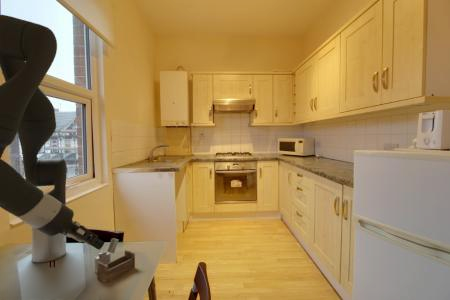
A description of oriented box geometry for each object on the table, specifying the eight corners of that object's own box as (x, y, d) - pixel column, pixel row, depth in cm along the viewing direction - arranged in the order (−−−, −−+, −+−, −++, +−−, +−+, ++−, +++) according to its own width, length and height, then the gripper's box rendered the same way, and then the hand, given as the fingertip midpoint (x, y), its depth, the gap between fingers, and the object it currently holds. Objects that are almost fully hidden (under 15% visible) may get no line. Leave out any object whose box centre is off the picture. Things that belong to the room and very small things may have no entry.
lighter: (98, 273, 67) (98, 246, 66) (94, 272, 67) (94, 245, 67) (118, 262, 73) (118, 237, 73) (115, 261, 74) (115, 236, 74)
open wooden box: (97, 278, 64) (97, 262, 64) (126, 263, 72) (126, 249, 72) (106, 282, 62) (106, 266, 62) (134, 267, 70) (134, 253, 70)
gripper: (72, 204, 55) (116, 235, 65) (46, 197, 62) (89, 227, 72) (46, 233, 50) (98, 262, 60) (21, 222, 58) (71, 249, 68)
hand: (93, 243), depth 66 cm, fingers open, 8 cm apart
